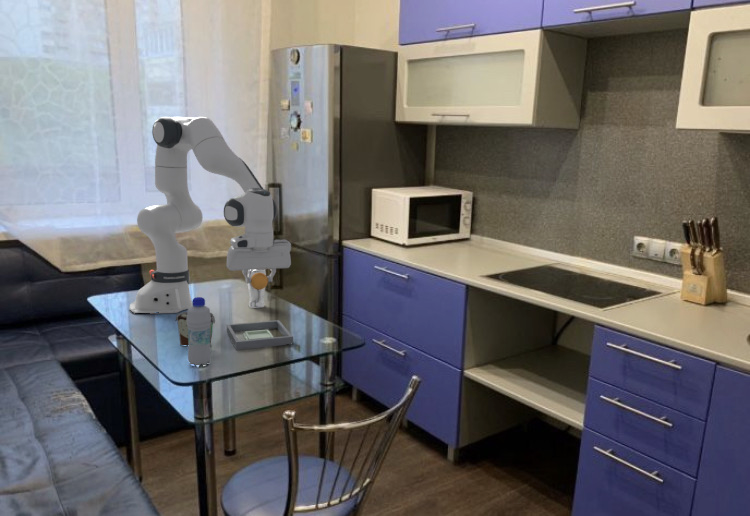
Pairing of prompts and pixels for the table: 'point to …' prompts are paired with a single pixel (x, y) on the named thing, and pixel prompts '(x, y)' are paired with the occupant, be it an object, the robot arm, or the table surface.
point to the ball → (259, 281)
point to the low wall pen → (258, 343)
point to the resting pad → (257, 334)
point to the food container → (184, 328)
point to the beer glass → (256, 291)
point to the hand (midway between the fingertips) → (259, 282)
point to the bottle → (199, 332)
